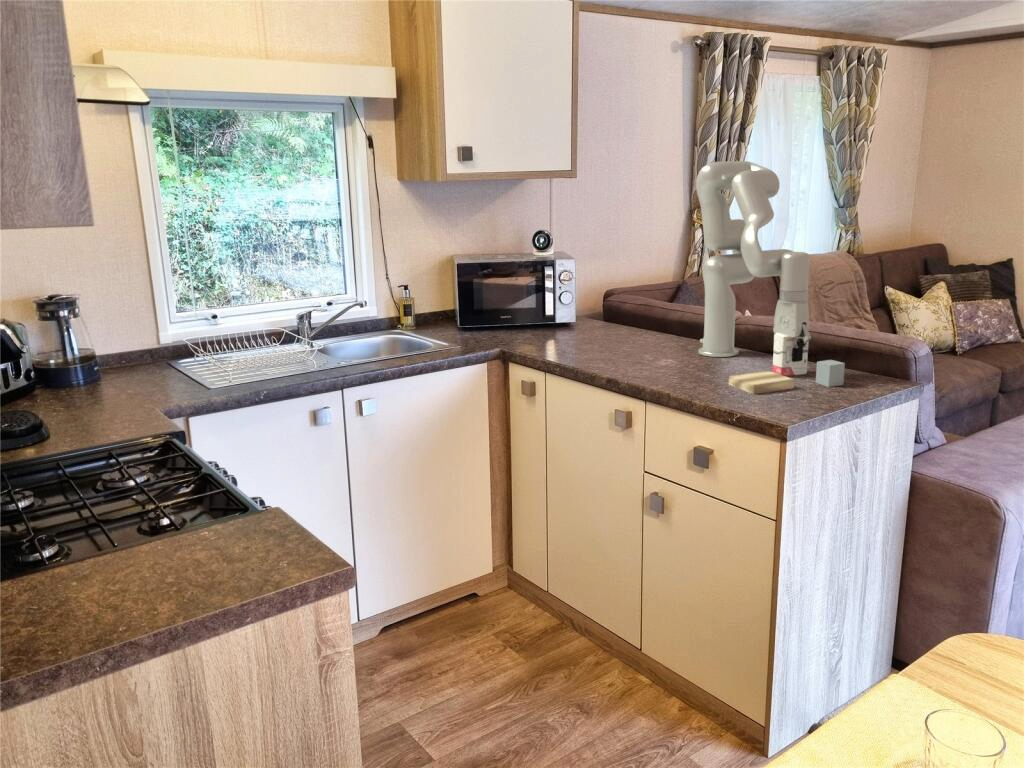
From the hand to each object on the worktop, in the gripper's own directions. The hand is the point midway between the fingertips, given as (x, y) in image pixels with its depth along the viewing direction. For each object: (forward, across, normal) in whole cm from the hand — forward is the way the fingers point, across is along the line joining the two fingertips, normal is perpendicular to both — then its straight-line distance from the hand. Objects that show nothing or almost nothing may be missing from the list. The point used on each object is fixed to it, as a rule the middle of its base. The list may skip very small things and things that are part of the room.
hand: (790, 358), depth 230 cm
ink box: (+5, 0, 0) cm, 5 cm away
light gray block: (+5, +14, +2) cm, 15 cm away
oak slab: (+5, +8, -16) cm, 19 cm away
